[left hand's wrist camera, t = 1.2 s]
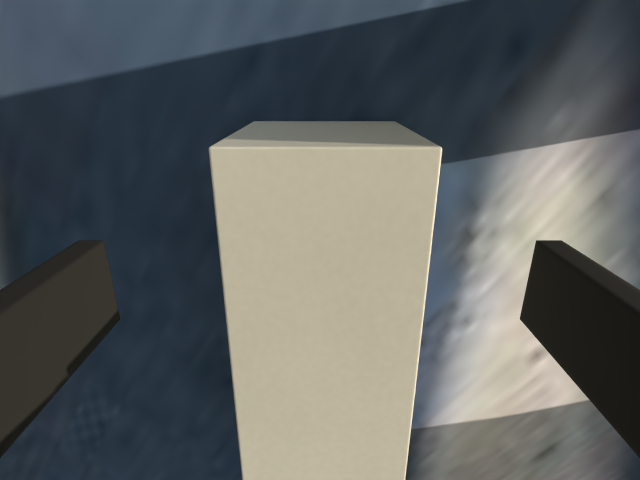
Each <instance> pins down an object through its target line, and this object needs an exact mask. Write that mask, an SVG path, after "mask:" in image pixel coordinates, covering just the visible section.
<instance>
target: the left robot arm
mask: <svg viewBox="0 0 640 480" xmlns="http://www.w3.org/2000/svg"><path fill="white" fill-rule="evenodd" d="M119 320H120V316H119V311H118V306H117V301H116V297H115V292H114V287H113V282H112V277H111V273H110V268H109V263H108V258H107V254H106V249H105V244H104V241H77V242H75V243H74V244H72V245H71V246H69V247H68V248H66V249H64V250H63V251H61V252H60V253H58V254H57V255H55V256H53V257H52V258H50V259H49V260H47V261H46V262H44V263H42V264H41V265H39V266H38V267H36V268H34V269H33V270H31V271H30V272H28V273H27V274H25V275H23V276H22V277H20V278H19V279H17V280H16V281H14V282H12V283H11V284H9V285H8V286H6V287H5V288H3V289H1V290H0V457H1V456H2V455H3V454H4V453H5V452H6V451H7V449H8V448H9V447H10V446H11V445H12V444H13V442H14V441H15V440H16V439H17V438H18V437H19V435H20V434H21V433H22V432H23V431H24V430H25V428H26V427H27V426H28V425H29V424H30V423H31V422H32V420H33V419H34V418H35V417H36V416H37V415H38V413H39V412H40V411H41V410H42V409H43V408H44V406H45V405H46V404H47V403H48V402H49V401H50V400H51V398H52V397H53V396H54V395H55V394H56V393H57V391H58V390H59V389H60V388H61V387H62V386H63V384H64V383H65V382H66V381H67V380H68V379H69V378H70V376H71V375H72V374H73V373H74V372H75V371H76V369H77V368H78V367H79V366H80V365H81V364H82V362H83V361H84V360H85V359H86V358H87V357H88V356H89V354H90V353H91V352H92V351H93V350H94V349H95V347H96V346H97V345H98V344H99V343H100V342H101V340H102V339H103V338H104V337H105V336H106V335H107V334H108V332H109V331H110V330H111V329H112V328H113V327H114V325H115V324H116V323H117V322H118V321H119ZM520 320H521V321H522V322H523V323H524V324H525V325H526V327H527V328H528V329H529V330H530V331H531V332H532V334H533V335H534V336H535V337H536V338H537V339H538V340H539V342H540V343H541V344H542V345H543V346H544V347H545V349H546V350H547V351H548V352H549V353H550V354H551V356H552V357H553V358H554V359H555V360H556V361H557V362H558V364H559V365H560V366H561V367H562V368H563V369H564V371H565V372H566V373H567V374H568V375H569V376H570V378H571V379H572V380H573V381H574V382H575V383H576V384H577V386H578V387H579V388H580V389H581V390H582V391H583V393H584V394H585V395H586V396H587V397H588V398H589V400H590V401H591V402H592V403H593V404H594V405H595V406H596V408H597V409H598V410H599V411H600V412H601V413H602V415H603V416H604V417H605V418H606V419H607V420H608V422H609V423H610V424H611V425H612V426H613V427H614V428H615V430H616V431H617V432H618V433H619V434H620V435H621V437H622V438H623V439H624V440H625V441H626V442H627V444H628V445H629V446H630V447H631V448H632V449H633V451H634V452H635V453H636V454H637V455H638V456H639V457H640V290H639V289H637V288H635V287H634V286H632V285H631V284H629V283H628V282H626V281H624V280H623V279H621V278H620V277H618V276H617V275H615V274H613V273H612V272H610V271H609V270H607V269H606V268H604V267H602V266H601V265H599V264H598V263H596V262H594V261H593V260H591V259H590V258H588V257H587V256H585V255H583V254H582V253H580V252H579V251H577V250H576V249H574V248H572V247H571V246H569V245H568V244H566V243H565V242H563V241H536V244H535V249H534V254H533V258H532V263H531V268H530V273H529V277H528V282H527V287H526V292H525V297H524V301H523V306H522V311H521V316H520Z"/></svg>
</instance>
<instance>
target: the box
mask: <svg viewBox="0 0 640 480" xmlns="http://www.w3.org/2000/svg"><path fill="white" fill-rule="evenodd" d="M441 156H442V147H440V146H438V145H436V144H435V143H433V142H431V141H429V140H427V139H426V138H424V137H422V136H420V135H418V134H417V133H415V132H413V131H411V130H410V129H408V128H406V127H404V126H402V125H401V124H399V123H397V122H395V121H254V122H252V123H250V124H249V125H247V126H245V127H243V128H242V129H240V130H238V131H236V132H235V133H233V134H231V135H230V136H228V137H226V138H224V139H223V140H221V141H219V142H217V143H216V144H214V145H212V146H211V147H209V157H210V167H211V177H212V186H213V196H214V206H215V216H216V226H217V235H218V245H219V255H220V265H221V274H222V284H223V294H224V304H225V314H226V323H227V333H228V343H229V353H230V362H231V372H232V382H233V392H234V401H235V411H236V421H237V431H238V441H239V450H240V460H241V470H242V480H405V476H406V467H407V459H408V450H409V441H410V432H411V423H412V414H413V405H414V396H415V387H416V378H417V370H418V361H419V352H420V343H421V334H422V325H423V316H424V307H425V298H426V289H427V281H428V272H429V263H430V254H431V245H432V236H433V227H434V218H435V209H436V200H437V191H438V183H439V174H440V165H441Z"/></svg>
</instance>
